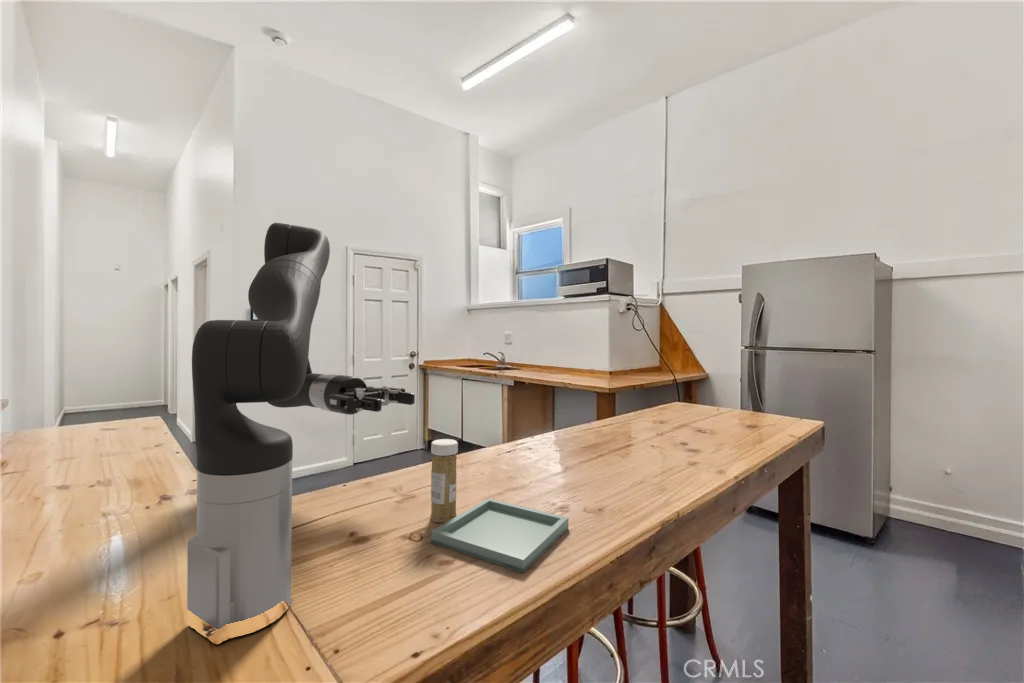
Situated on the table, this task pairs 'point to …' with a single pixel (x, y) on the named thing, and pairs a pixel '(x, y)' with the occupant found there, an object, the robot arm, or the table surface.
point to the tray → (501, 533)
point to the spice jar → (443, 480)
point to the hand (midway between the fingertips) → (397, 402)
